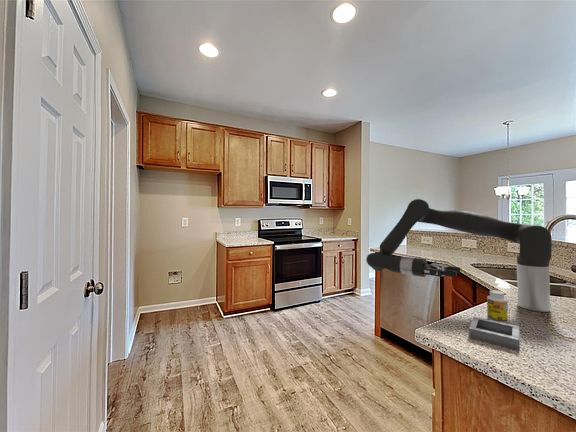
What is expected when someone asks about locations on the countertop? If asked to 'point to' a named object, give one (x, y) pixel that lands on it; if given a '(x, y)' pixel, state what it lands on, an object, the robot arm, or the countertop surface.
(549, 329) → the countertop surface
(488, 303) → the supplement bottle
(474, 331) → the square grey bottle holder
